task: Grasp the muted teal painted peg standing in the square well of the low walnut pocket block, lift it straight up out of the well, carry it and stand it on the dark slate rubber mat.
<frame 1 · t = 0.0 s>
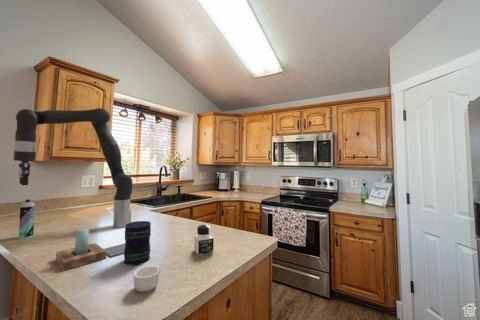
hand: (23, 184, 102), 29 cm above the counter, fingers open, 8 cm apart
storage jar: (137, 260, 88), on the counter
spray can: (26, 237, 113), on the counter
pocket block: (81, 258, 88), on the counter
peg: (81, 259, 88), resting in pocket block
medicine bottle: (203, 252, 97), on the counter
teacup: (148, 287, 69), on the counter
mat: (119, 250, 97), on the counter
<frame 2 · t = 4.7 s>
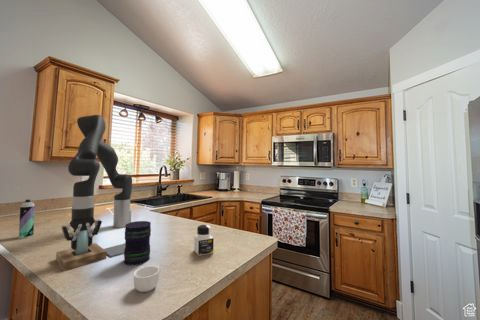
hand: (81, 247, 88), 5 cm above the counter, fingers closed on peg, 4 cm apart
peg: (81, 259, 88), resting in pocket block, touching gripper
everything else where it was.
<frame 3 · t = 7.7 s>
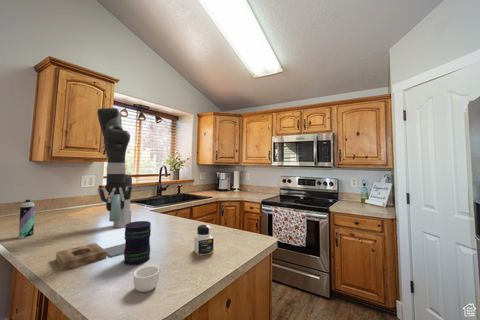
hand: (115, 209, 97), 19 cm above the counter, fingers closed on peg, 4 cm apart
peg: (114, 220, 97), point 14 cm above the counter, touching gripper
everything else where it was.
when the fingers open (6 cm above the counter, at t = 10.8 s): peg stays where it is, resting on mat.
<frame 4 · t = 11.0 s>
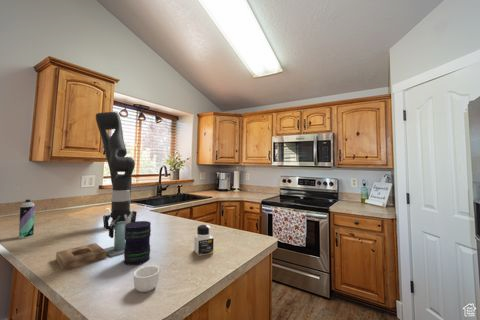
hand: (119, 235, 98), 7 cm above the counter, fingers open, 6 cm apart
peg: (119, 248, 97), point 1 cm above the counter, touching mat
everything else where it was.
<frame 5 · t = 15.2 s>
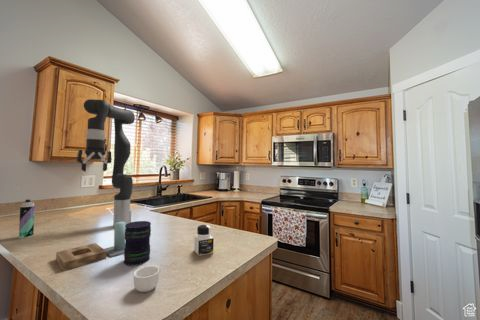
hand: (94, 171, 105), 36 cm above the counter, fingers open, 8 cm apart
nothing on the counter moved.
at the end: peg inside the target area on the mat (0.1 cm from its centre), point 0.6 cm above the mat's base; peg tilted 1°; peg touching mat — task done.
